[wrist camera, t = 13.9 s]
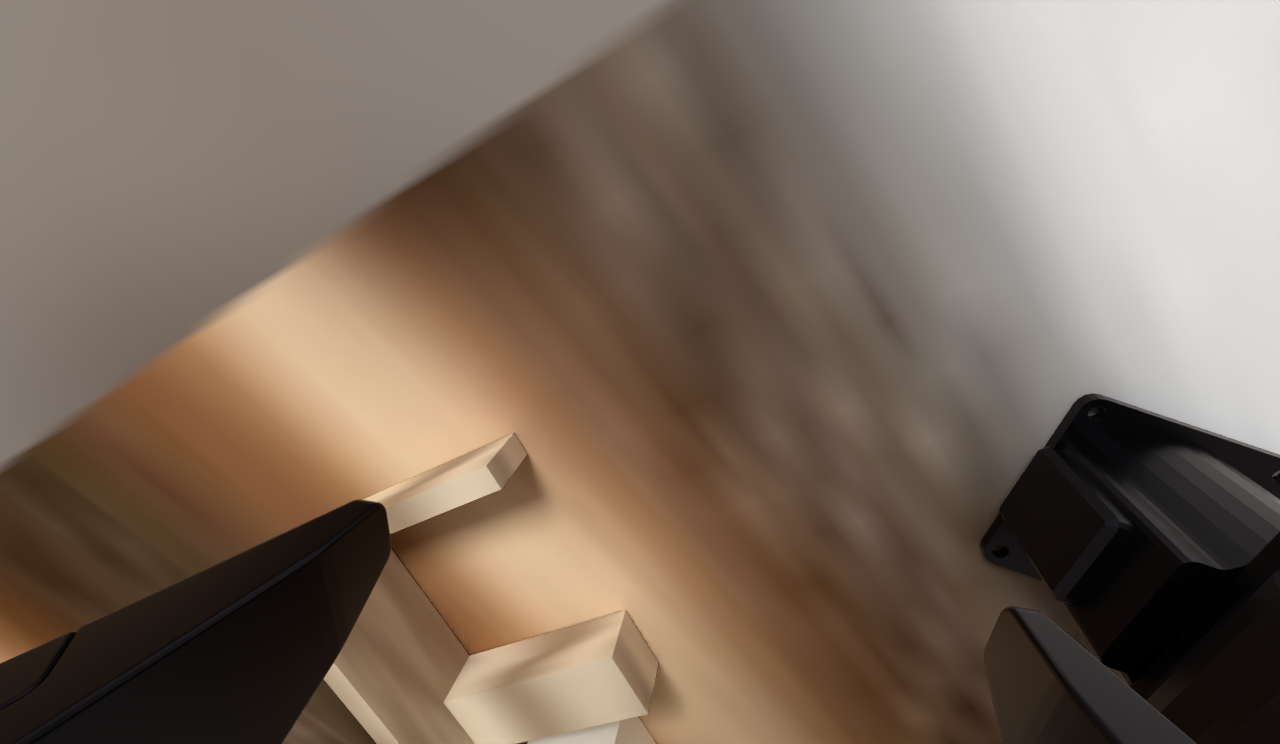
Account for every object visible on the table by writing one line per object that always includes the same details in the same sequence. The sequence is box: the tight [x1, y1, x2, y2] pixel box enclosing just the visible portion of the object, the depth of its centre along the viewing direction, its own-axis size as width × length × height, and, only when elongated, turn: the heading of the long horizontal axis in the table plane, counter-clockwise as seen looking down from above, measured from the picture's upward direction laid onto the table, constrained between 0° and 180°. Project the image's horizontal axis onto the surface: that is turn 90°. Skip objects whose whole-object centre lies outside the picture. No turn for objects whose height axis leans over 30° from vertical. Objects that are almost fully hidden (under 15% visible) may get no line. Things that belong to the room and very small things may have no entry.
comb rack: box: [324, 433, 659, 744], centre depth 24 cm, size 10×21×5 cm, turn 29°
